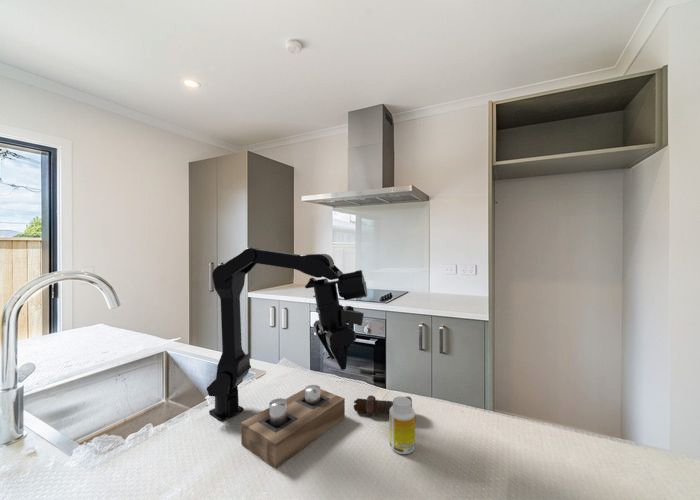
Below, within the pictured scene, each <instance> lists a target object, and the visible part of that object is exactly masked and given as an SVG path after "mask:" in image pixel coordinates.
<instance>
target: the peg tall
mask: <svg viewBox="0 0 700 500" xmlns="http://www.w3.org/2000/svg"><path fill="white" fill-rule="evenodd" d="M285 399H286V398H274V399H272V400H271V401H270V402H269V407H268V408H269V411H270V425H271V426H273V427H274V428H276V429H277V428H279V427H280V426H282V425H284V424H285V423H287V401H286V400H285Z"/></svg>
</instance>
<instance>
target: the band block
mask: <svg viewBox="0 0 700 500" xmlns="http://www.w3.org/2000/svg"><path fill="white" fill-rule="evenodd" d="M284 399H285V400H286V401H287V423H285V424H284V425H282V426H280V427H279V428H277V429H276V428H274V427H273V426H271V425H270V411H269V407H268V408H265V409H264V410H262V411H261V412H260V411H259V412H258V413H256V414H255V415H253V416H251V417H249V418H247V419H245V420H243V421H241V422H240V423H241V424H240V425H241V426H240V427H241V428H240V429H241V430H240V431H241V432H240V433H241V435H240V436H241V437H240V438H241V440H240V441H241V443H240V444H241V446H243V447H244V448H245V449H247V450H248V451H250V452H251V453H253V454H254V455H255V456H256V457H258V458H259V459H260V460H262V461H264V462H265V463H267V464H268V465H269V466H271V467H272V468H273V469H275V470H276V469H278V468H280V467H281V466H283V464H285V463H286V462H287V461H289V460H291V459H292V458H293V457H294V456H296V455H297V454H298V453H299V452H301V451H302V450H303V449H305V448H306V447H308V446H309V445H310V444H311V443H313V442H314V441H316V440H317V439H318V438H319V437H321V436H322V435H324V434H325V433H326V432H328V431H329V430H331V428H333V427H335V426H336V425H337V424H338V423H340V422H341V421H343V419H345V418H346V415H345V413H346V407H345V404H346V403H345V401H346V400H345V397H342V396H339V395H337V394H334V393H331V392H330V391H327V390H325V389H322V388H320V403H318V404H316V405H315V406H311V405H308V404H306V403H305V388H304V389H302V390H299V391H298V392H296V393H294V394H292V395H290V396H289V397H287V398H284Z"/></svg>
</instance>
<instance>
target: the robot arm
mask: <svg viewBox="0 0 700 500" xmlns="http://www.w3.org/2000/svg"><path fill="white" fill-rule="evenodd" d="M257 264H258V265H266V266H272V267H278V268H285V269H292V270H295V271H298V272H301V273H303V274H305V275H307V276H311V277H310V278H309V280H308V282H307V283H306V285H305V286H304V288H305V289H311V288H312V289H313V292H314V298H315V304H316V307H315V312H316V313H317V314H318V320H315V321H314V323H313V324H312V325H313V331H314V333H315V334H316V335H315V336H317V339H318V340H319V341H320V343H321V345H322V346H323V348H324V349H325V351H326V353H327V354H328V356H329V357H330V359H331V360H335V361H336V362H337V364H338V367H339V368H340V369H341V371H344V370H346V369H347V362H348V351H349V348H350V346H351V345H352V344H354V343H355V341H357V336H356V331H355V330H353V329H352V328H351V327H348V324H350V325H357V326H361V327H362V326H363V320H364V314H365V313H364V312H362V311H358V310H355V309H354V306H351V305H346V306H343V305H342V304H341V303H340V301H339V297H340V298H342V299H343V300H344V301H349V300H355V299H362V298H367V297H368V288H367V281H365V276H364V275H363V270H362V269H360V270H356V271H352V272H343V271H341V270H340V268H338V266H336V265H335V261H334V259H333V258H332V256H331V255H329V254H327V253H313V254H312V253H310V254H309V253H307V254H297V253H289V252H283V251H276V250H268V249H261V248H259V247H247V248H245V249H244V250H243V251H242V252H240V253H239V254H238V255H235V256H234V257H233V258H231V259H229V260H227V261H226V262H225V263H223V264H219V265H217V266H216V267H215V268H214V269H213V270H212V273H211V278H212V282H213V287H214V290H215V292H216V294H217V295H218V296H219V299H220V320H221V323H220V324H221V325H220V326H221V346H222V347H221V350H222V352H221V355H220V359H219V361H218V364H217V367H216V375H215V379H214V380H213V381H212V382H211V383H210V384H209V385H208V386H207V387H206V392H207V395H208V396H209V397H214V408H211V409H210V410H209V411H208V413H209V414H210V415H211V416H213V417H214V418H216V419H217V420H219V421H221V422H222V421H223V422H224V421H225V420H226V419H229V418H230V417H233V416H235V415H237V414H239V413H240V412H243V411H244V407H243V406H241V405H239V404H240V403H239V388H238V386H239V385H240V384H241V383H242V382H243V381H244V378H246V376H247V375H248V374H249V371H250V369H251V368H252V365H251V362H250V361H251V354H250V353H245V351H244V350H243V346H242V319H241V294H242V291H243V290H244V286H245V280H246V275H247V274H248V273H249V272H251V271H252V270H253V268H254V267H255V266H256V265H257ZM315 278H319V279H315ZM320 278H321V279H320Z"/></svg>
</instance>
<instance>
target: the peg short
mask: <svg viewBox="0 0 700 500" xmlns="http://www.w3.org/2000/svg"><path fill="white" fill-rule="evenodd" d="M304 389H305V403H306V404H308V405H311V406H315V405H316V404H318V403H320V389H321V387H320V386H319V385H318V384H310V385H307V386H306V387H305V388H304Z"/></svg>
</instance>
